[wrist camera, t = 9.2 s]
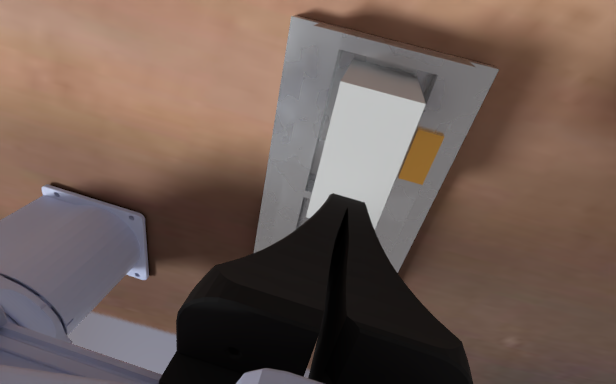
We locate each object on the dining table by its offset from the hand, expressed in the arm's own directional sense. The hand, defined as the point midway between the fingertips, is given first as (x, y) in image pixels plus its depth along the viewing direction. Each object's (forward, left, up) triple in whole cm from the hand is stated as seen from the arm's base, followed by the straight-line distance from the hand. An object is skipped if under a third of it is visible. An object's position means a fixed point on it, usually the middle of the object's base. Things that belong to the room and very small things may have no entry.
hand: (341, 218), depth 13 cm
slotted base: (0, -4, -10) cm, 11 cm away
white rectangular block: (0, +1, -9) cm, 9 cm away
